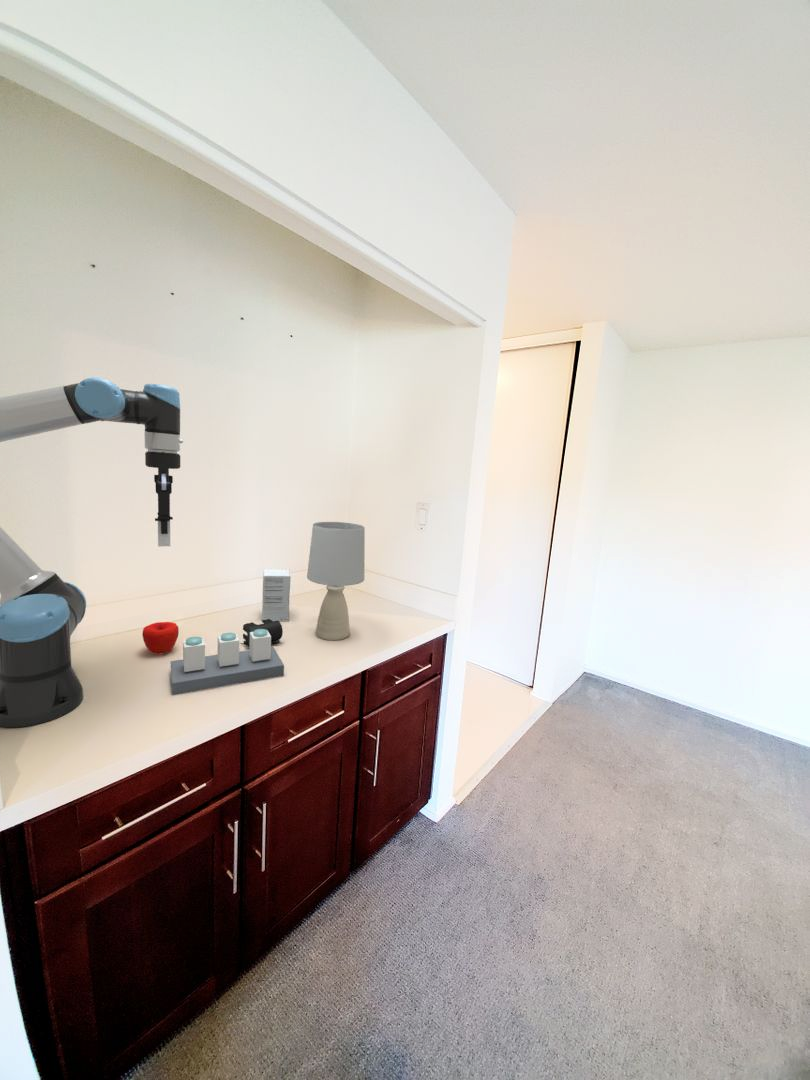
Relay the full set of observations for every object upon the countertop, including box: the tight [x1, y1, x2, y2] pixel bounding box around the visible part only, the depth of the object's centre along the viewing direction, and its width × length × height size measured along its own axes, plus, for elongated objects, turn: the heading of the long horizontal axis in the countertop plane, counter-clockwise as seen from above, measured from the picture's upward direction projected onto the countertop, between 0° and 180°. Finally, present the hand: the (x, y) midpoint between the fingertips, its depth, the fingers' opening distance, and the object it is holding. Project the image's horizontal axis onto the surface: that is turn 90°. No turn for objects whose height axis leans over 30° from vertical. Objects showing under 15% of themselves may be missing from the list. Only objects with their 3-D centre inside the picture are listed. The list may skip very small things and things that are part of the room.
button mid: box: [217, 632, 240, 667], centre depth 110 cm, size 5×5×7 cm
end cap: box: [242, 619, 284, 648], centre depth 130 cm, size 10×7×7 cm
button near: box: [182, 636, 206, 672], centre depth 106 cm, size 5×5×7 cm
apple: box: [141, 621, 180, 655], centre depth 120 cm, size 9×9×8 cm
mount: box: [170, 646, 285, 696], centre depth 111 cm, size 26×12×8 cm, turn 120°
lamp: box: [306, 521, 366, 641], centre depth 139 cm, size 19×19×37 cm
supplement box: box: [261, 568, 291, 622], centre depth 152 cm, size 10×9×17 cm
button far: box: [248, 629, 272, 662], centre depth 114 cm, size 5×5×7 cm
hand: (164, 545), depth 108 cm, fingers closed
